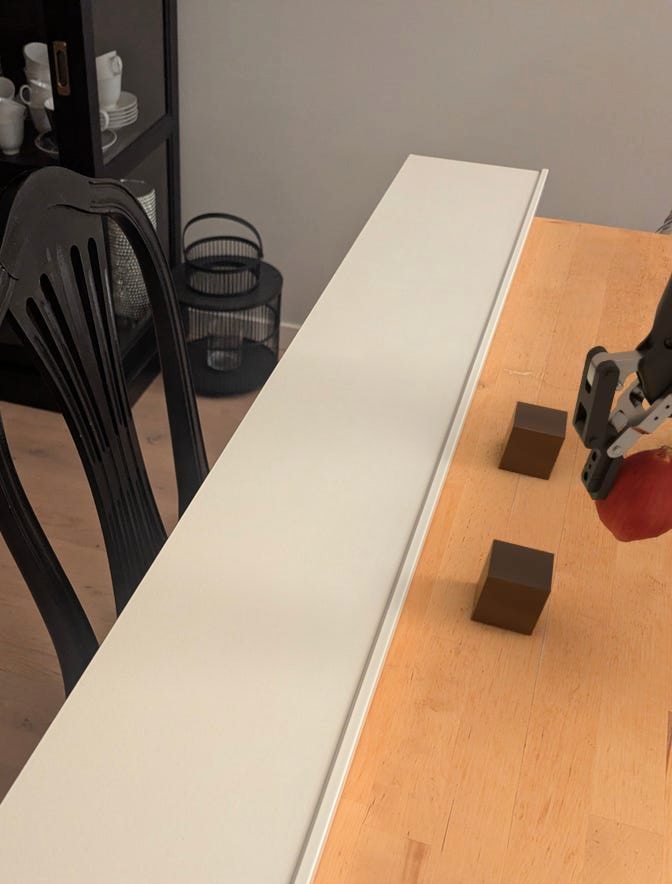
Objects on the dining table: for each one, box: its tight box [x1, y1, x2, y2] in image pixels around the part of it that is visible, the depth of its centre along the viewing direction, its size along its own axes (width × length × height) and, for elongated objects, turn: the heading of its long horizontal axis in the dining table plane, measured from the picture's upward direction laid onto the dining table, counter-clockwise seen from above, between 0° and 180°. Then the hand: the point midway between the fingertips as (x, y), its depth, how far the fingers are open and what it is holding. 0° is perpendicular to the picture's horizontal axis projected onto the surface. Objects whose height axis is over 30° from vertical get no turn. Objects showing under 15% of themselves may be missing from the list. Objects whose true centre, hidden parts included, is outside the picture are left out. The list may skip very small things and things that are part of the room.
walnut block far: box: [497, 400, 569, 480], centre depth 92 cm, size 5×5×5 cm
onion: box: [594, 444, 672, 543], centre depth 63 cm, size 6×6×8 cm
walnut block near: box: [470, 538, 555, 636], centre depth 76 cm, size 5×5×5 cm
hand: (639, 493), depth 63 cm, fingers closed on onion, 6 cm apart
